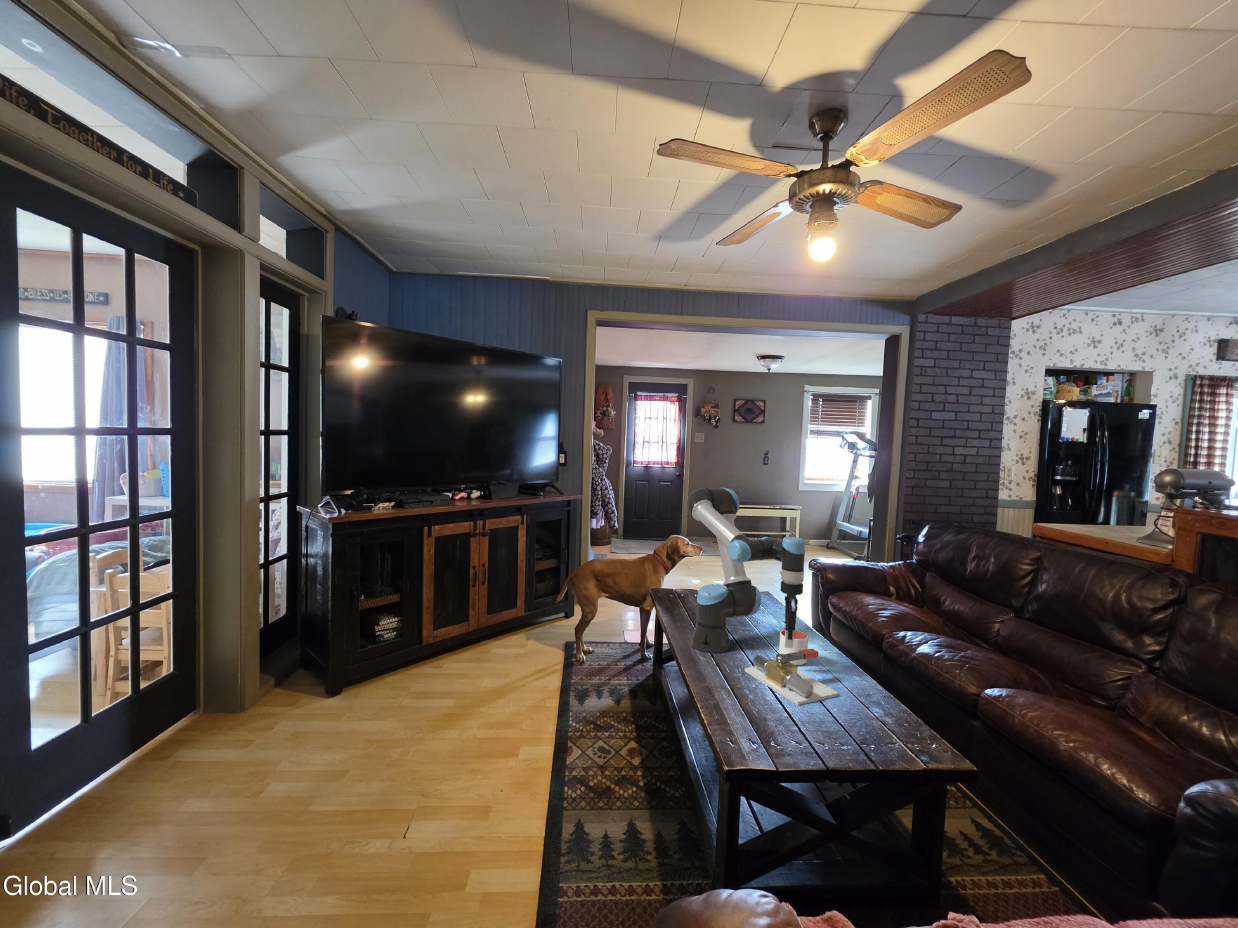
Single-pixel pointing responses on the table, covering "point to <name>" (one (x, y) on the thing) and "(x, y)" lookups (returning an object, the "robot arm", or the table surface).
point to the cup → (794, 645)
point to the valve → (783, 675)
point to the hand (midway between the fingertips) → (788, 647)
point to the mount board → (818, 690)
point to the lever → (797, 656)
